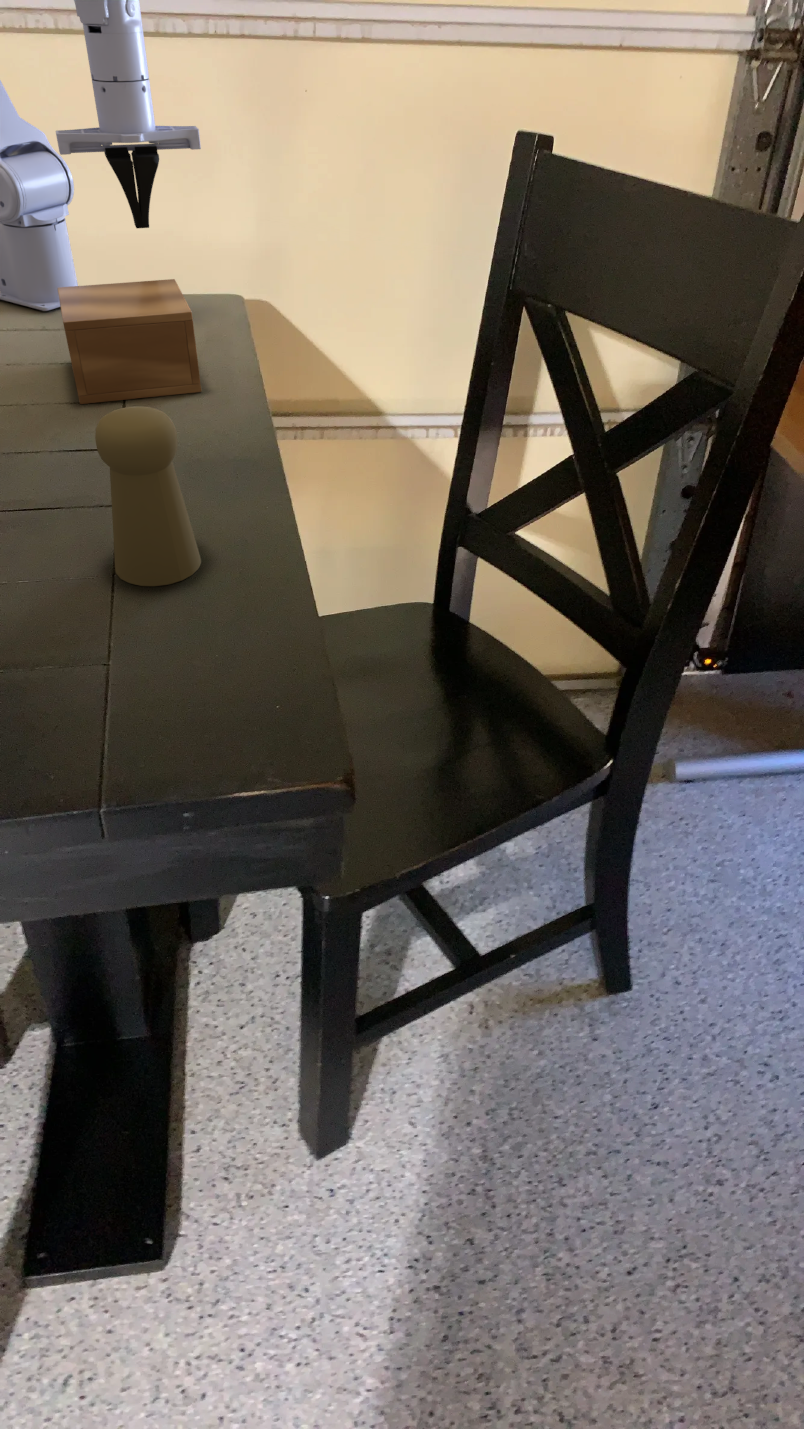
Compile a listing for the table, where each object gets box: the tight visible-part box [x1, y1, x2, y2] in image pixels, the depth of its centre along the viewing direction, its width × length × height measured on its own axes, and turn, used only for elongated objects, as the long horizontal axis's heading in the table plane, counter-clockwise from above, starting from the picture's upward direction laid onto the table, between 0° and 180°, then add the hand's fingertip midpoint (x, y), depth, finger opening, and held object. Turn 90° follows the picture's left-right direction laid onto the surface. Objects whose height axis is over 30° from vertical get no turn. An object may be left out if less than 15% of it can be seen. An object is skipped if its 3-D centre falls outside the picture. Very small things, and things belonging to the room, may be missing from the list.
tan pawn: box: [94, 405, 202, 587], centre depth 64 cm, size 6×6×11 cm
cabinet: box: [57, 278, 202, 405], centre depth 94 cm, size 12×12×8 cm
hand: (141, 226), depth 105 cm, fingers closed
